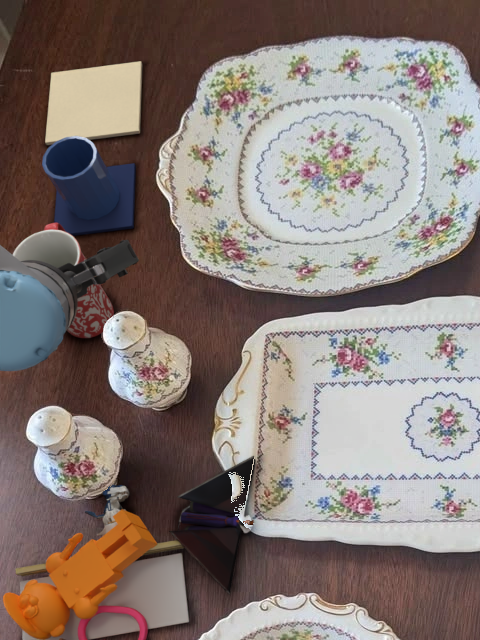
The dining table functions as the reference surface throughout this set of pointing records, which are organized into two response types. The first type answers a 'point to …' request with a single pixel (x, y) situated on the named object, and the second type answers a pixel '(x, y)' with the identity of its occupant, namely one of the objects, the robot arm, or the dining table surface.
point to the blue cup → (81, 177)
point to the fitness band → (116, 609)
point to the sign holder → (132, 596)
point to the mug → (66, 249)
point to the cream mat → (95, 102)
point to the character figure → (215, 523)
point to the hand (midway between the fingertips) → (55, 284)
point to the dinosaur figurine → (111, 506)
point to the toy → (79, 578)
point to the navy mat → (114, 220)
